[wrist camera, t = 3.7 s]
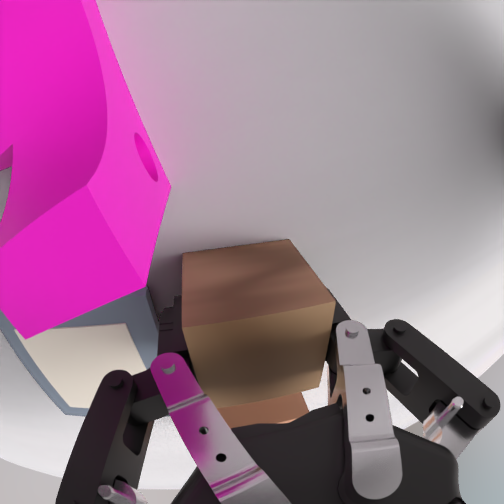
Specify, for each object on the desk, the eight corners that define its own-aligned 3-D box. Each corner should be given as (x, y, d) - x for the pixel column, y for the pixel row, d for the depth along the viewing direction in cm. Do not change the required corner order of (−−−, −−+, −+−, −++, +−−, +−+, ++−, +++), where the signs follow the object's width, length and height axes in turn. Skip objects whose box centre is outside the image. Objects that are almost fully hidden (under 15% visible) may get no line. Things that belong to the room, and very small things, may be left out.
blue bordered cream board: (147, 285, 13) (145, 296, 12) (190, 405, 18) (191, 415, 17) (-5, 302, 11) (-11, 311, 10) (66, 407, 16) (65, 415, 15)
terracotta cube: (284, 351, 17) (310, 414, 13) (281, 392, 19) (301, 446, 15) (206, 364, 16) (216, 433, 12) (217, 404, 18) (227, 461, 14)
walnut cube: (289, 239, 13) (335, 301, 9) (286, 318, 16) (318, 386, 11) (182, 253, 12) (182, 327, 8) (198, 333, 15) (207, 409, 10)
